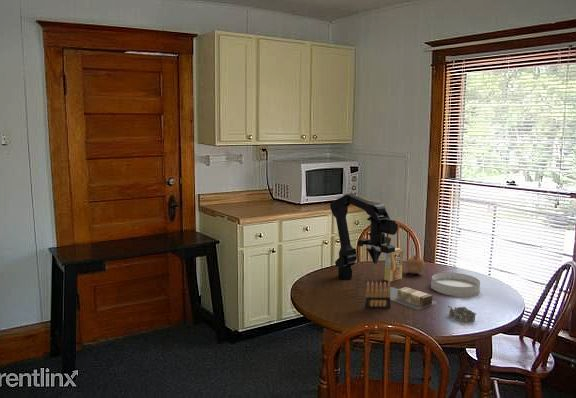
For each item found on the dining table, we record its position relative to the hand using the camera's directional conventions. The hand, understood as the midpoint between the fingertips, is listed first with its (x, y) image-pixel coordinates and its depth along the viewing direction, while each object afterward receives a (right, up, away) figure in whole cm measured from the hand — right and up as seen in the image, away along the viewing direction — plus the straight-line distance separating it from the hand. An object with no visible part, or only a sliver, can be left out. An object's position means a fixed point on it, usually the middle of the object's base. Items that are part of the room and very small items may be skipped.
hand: (375, 263), depth 246 cm
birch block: (+10, -12, -11) cm, 19 cm away
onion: (+24, -9, +24) cm, 35 cm away
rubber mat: (+11, -14, -12) cm, 21 cm away
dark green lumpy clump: (+30, -18, -33) cm, 48 cm away
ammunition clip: (-3, -16, -24) cm, 29 cm away
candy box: (+11, -10, +15) cm, 21 cm away
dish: (+38, -13, +2) cm, 40 cm away
